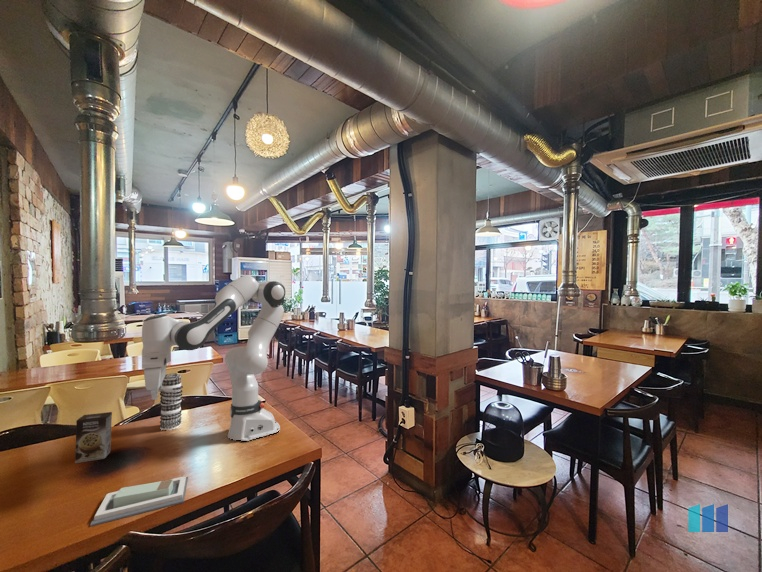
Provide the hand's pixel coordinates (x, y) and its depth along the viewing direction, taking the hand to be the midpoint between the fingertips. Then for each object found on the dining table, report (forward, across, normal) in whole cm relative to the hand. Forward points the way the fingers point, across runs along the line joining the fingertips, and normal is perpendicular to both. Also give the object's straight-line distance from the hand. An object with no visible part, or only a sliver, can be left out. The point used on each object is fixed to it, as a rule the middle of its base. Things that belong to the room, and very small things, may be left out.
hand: (157, 394), depth 117 cm
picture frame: (+26, +22, 0) cm, 34 cm away
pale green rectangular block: (+25, +22, 0) cm, 34 cm away
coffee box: (+26, -17, -23) cm, 39 cm away
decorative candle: (+27, -36, +1) cm, 45 cm away
